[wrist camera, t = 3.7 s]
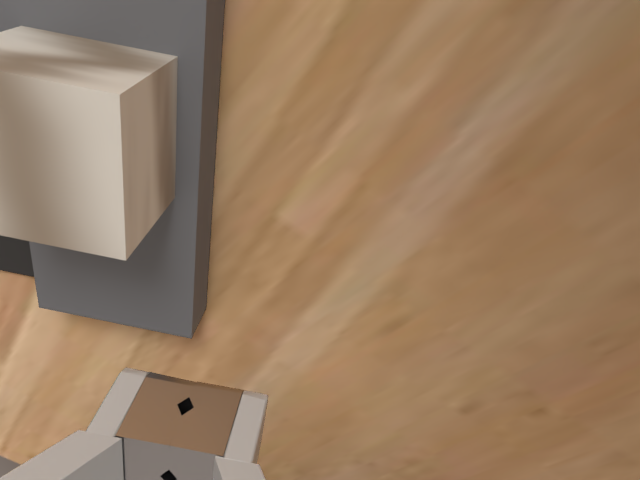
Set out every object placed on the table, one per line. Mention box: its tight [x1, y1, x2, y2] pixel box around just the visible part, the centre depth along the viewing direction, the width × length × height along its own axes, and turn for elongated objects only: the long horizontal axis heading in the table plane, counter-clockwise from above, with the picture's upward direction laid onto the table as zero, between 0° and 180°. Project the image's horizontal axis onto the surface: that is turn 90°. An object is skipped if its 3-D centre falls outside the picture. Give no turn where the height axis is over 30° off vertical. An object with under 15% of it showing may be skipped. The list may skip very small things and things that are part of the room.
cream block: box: [0, 26, 178, 261], centre depth 20 cm, size 6×6×5 cm
